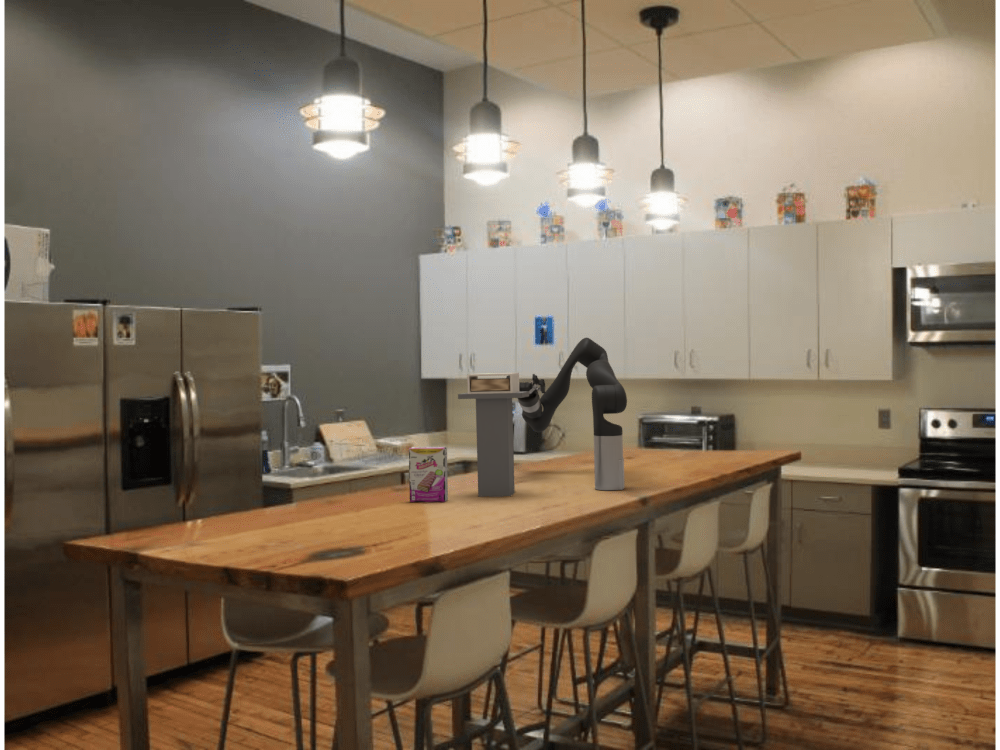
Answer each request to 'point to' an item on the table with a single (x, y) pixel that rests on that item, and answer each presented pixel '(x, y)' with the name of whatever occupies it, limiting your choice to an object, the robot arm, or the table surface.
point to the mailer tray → (490, 384)
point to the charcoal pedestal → (495, 442)
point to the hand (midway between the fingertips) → (521, 376)
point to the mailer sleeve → (513, 388)
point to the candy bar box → (428, 474)
